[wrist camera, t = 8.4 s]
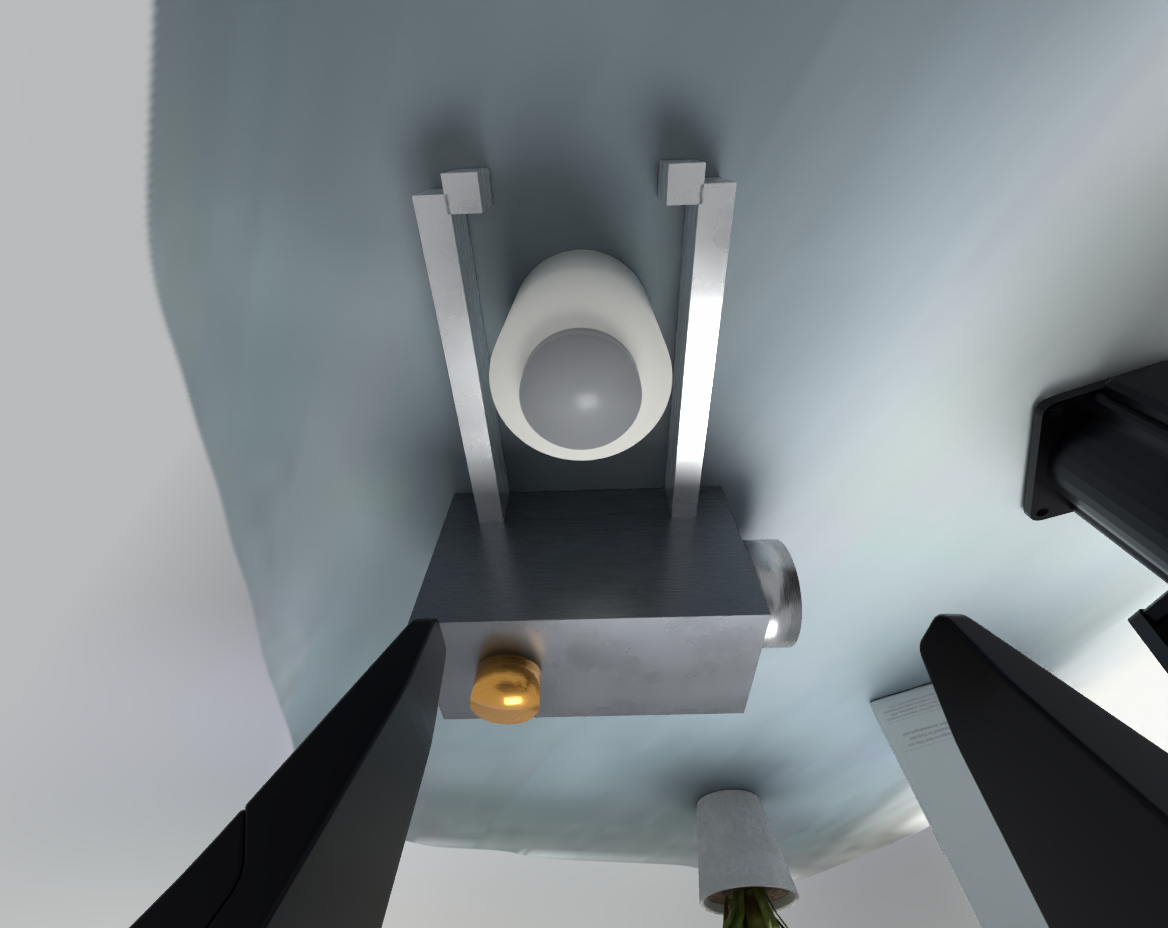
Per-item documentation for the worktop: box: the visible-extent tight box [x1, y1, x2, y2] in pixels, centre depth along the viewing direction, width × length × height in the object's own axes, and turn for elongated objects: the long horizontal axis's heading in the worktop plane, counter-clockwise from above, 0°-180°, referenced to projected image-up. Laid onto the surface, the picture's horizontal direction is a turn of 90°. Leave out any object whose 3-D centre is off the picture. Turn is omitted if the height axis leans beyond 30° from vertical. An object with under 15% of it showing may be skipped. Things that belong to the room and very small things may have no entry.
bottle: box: [489, 249, 672, 461], centre depth 15 cm, size 5×5×6 cm
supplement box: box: [871, 684, 1049, 928], centre depth 27 cm, size 7×7×13 cm
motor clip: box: [408, 159, 802, 724], centre depth 17 cm, size 14×18×8 cm
